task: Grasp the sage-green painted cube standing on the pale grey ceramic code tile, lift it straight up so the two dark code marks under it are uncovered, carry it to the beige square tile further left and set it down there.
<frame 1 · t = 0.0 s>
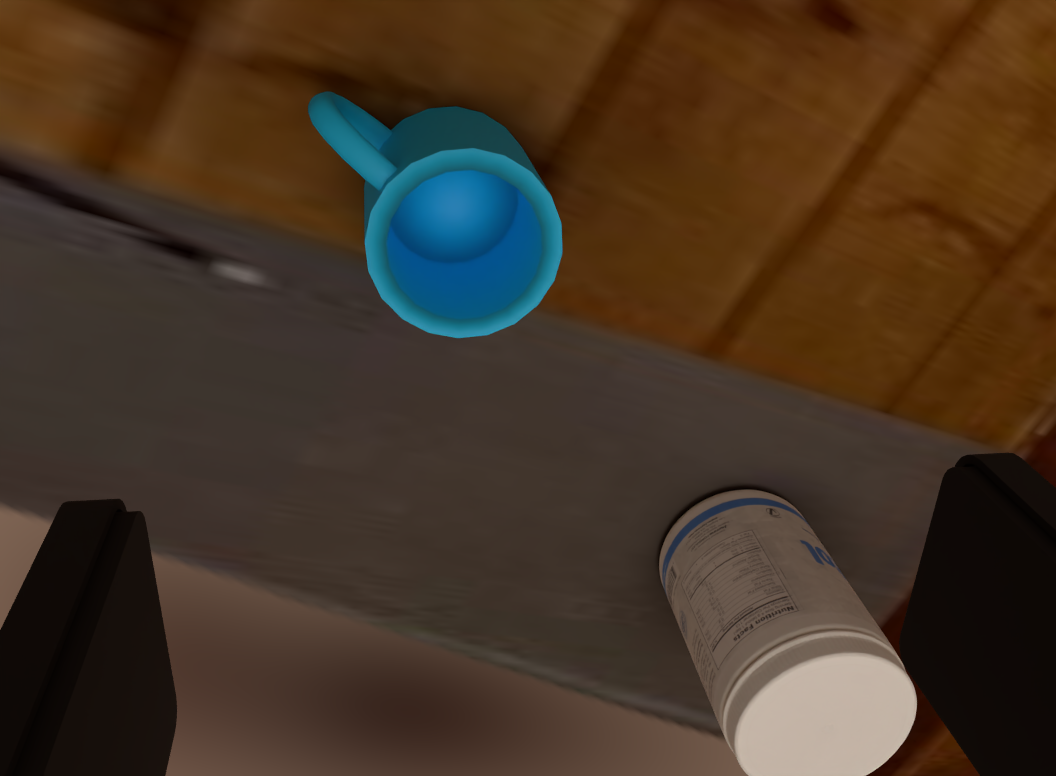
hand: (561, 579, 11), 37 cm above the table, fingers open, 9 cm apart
supplement tub: (728, 545, 60), on the table
mug: (418, 165, 47), on the table
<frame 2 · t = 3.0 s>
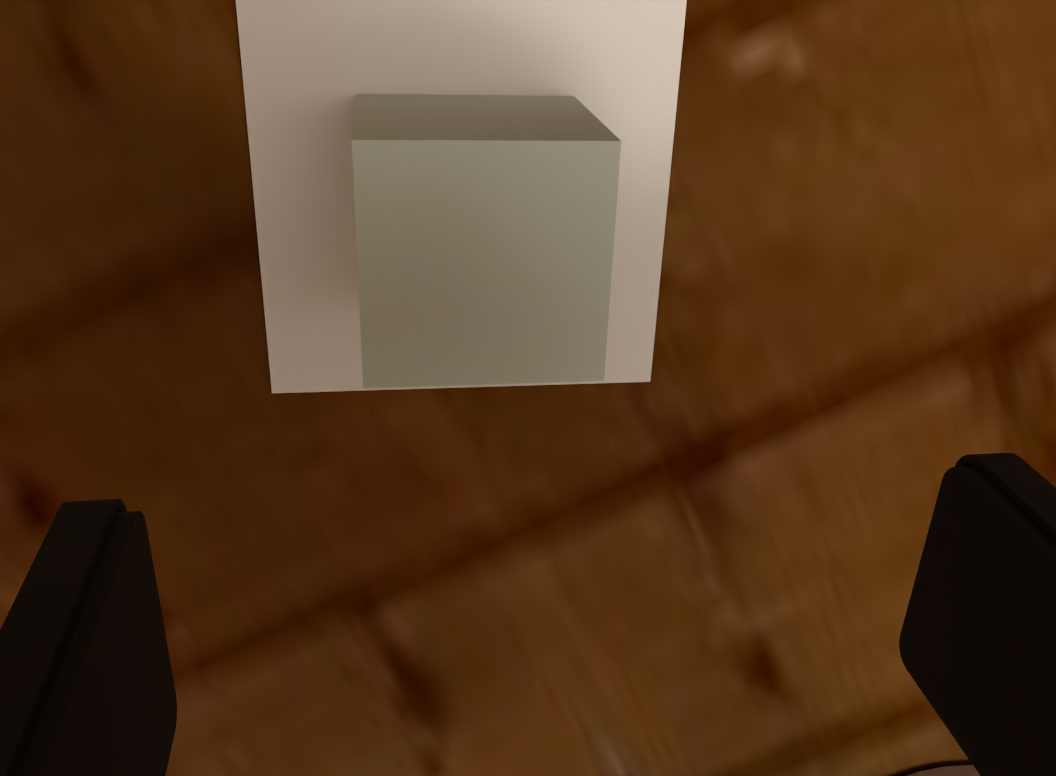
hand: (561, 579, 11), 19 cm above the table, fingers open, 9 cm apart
code tile: (466, 199, 28), on the table
sage block: (466, 201, 28), resting on code tile
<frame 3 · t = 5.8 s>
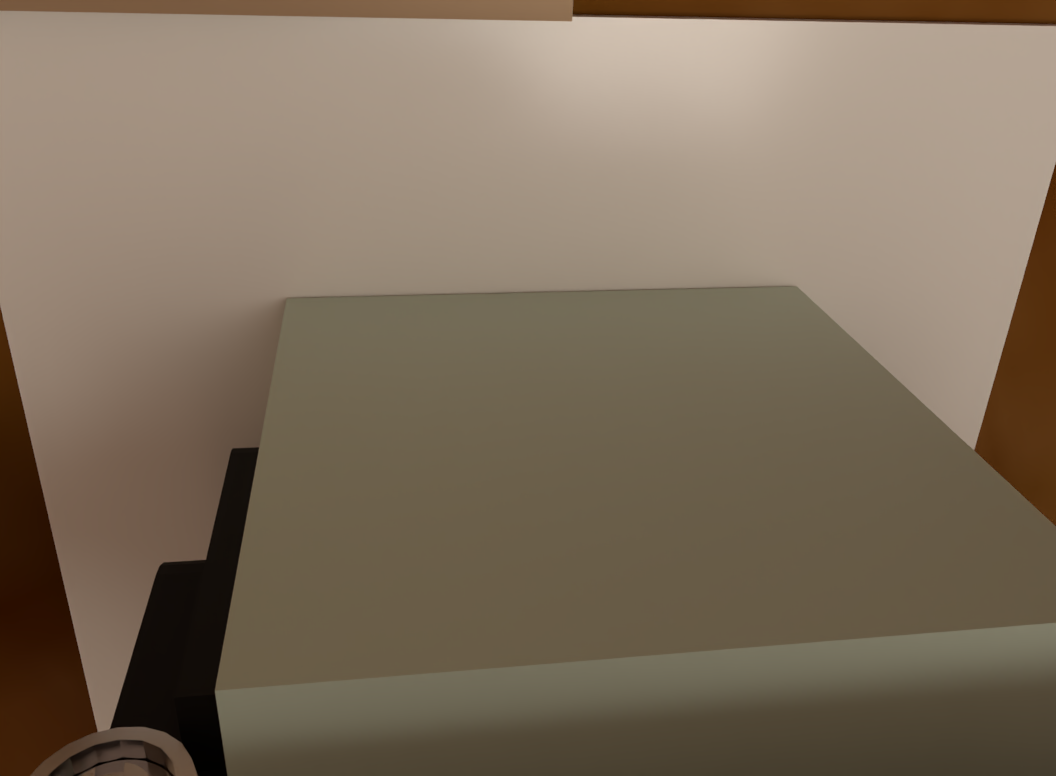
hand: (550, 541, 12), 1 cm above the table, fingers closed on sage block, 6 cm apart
code tile: (538, 497, 13), on the table
sage block: (541, 507, 13), resting on code tile, touching gripper
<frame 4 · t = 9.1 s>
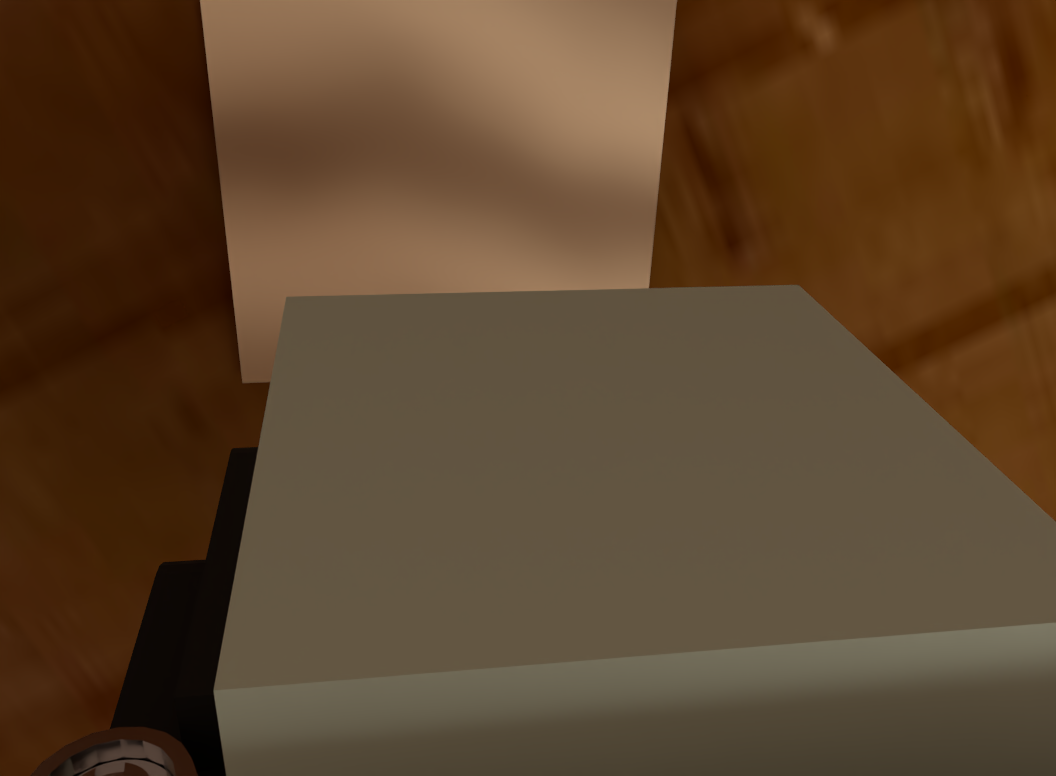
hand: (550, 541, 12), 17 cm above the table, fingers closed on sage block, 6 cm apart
beige square tile: (445, 173, 27), on the table
sage block: (541, 507, 13), point 17 cm above the table, touching gripper
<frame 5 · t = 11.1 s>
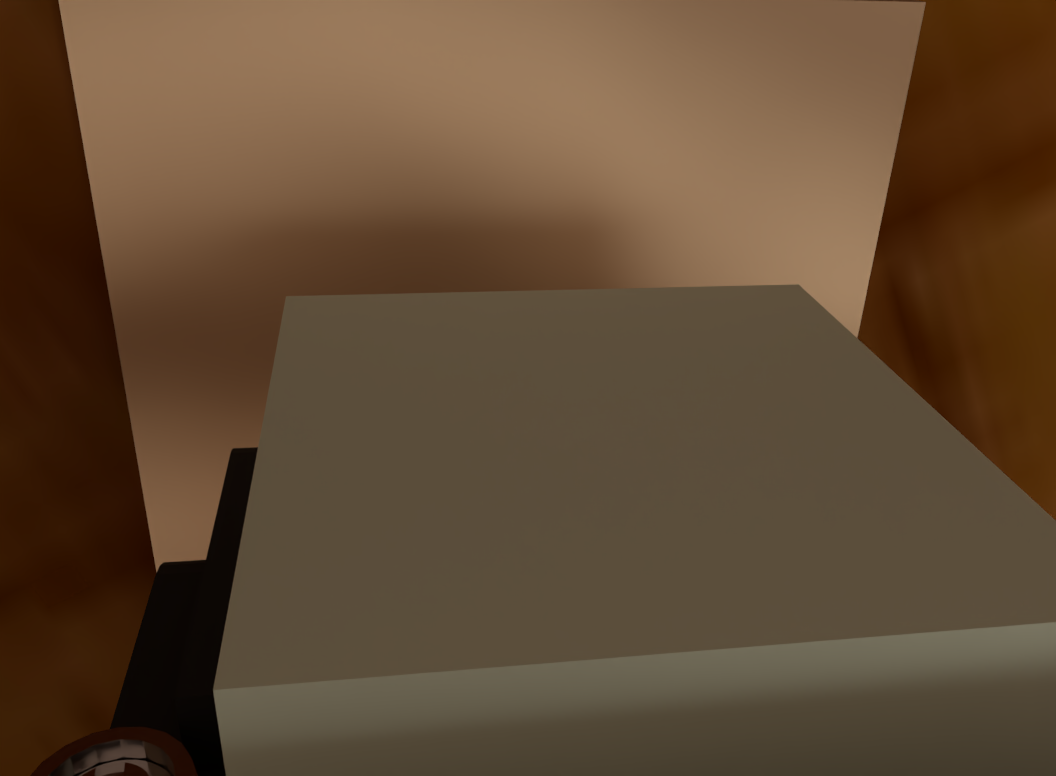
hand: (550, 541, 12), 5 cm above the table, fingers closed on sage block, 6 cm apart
beige square tile: (503, 368, 17), on the table
sage block: (541, 506, 13), point 4 cm above the table, touching gripper
when the fingers open (3 cm above the table, at t = 12.6 s): sage block drops 1 cm, resting on beige square tile.
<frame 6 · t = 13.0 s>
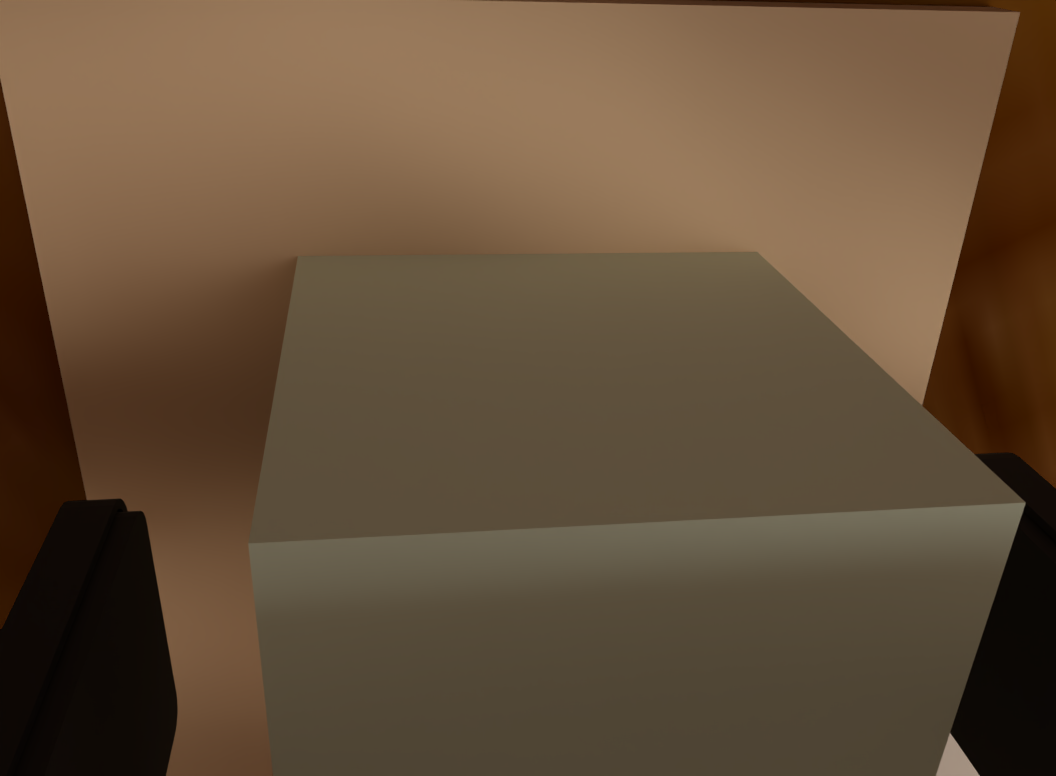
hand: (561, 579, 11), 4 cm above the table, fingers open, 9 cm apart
beige square tile: (519, 430, 14), on the table
sage block: (526, 453, 14), point 1 cm above the table, touching beige square tile
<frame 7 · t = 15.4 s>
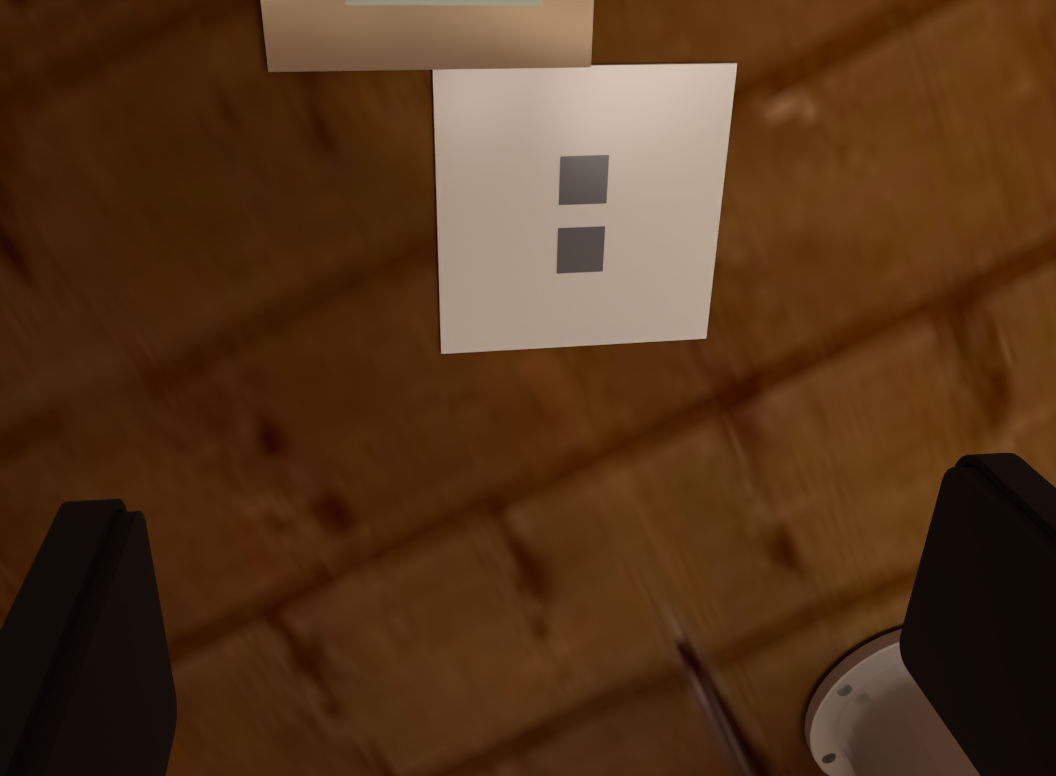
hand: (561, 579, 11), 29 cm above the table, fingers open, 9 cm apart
code tile: (581, 214, 41), on the table
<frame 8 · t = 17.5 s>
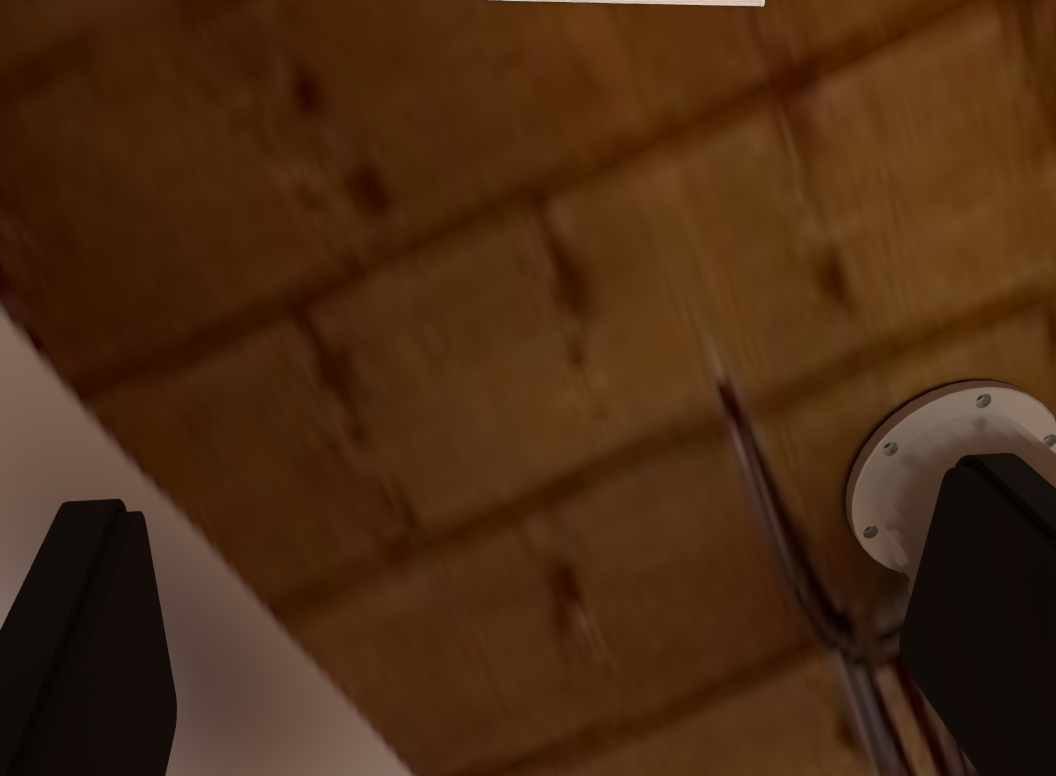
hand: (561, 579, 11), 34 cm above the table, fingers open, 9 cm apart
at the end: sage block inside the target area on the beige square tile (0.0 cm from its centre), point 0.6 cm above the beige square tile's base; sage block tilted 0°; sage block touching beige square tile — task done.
